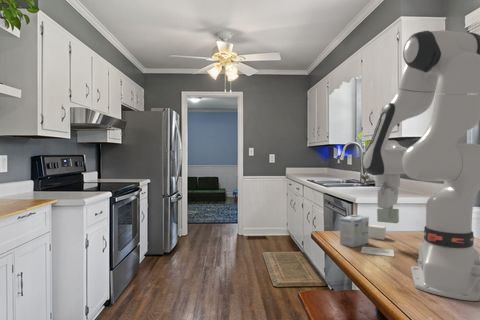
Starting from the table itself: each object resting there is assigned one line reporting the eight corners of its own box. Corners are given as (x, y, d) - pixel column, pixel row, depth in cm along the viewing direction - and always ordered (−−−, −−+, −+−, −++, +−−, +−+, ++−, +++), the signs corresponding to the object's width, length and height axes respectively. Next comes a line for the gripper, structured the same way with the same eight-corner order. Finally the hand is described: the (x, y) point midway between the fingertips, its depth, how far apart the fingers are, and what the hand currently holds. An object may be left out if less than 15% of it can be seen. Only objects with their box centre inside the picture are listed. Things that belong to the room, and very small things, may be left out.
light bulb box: (354, 239, 132) (354, 214, 132) (369, 243, 127) (369, 216, 127) (339, 244, 126) (339, 217, 126) (354, 248, 121) (354, 220, 120)
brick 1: (383, 239, 132) (383, 228, 132) (366, 237, 136) (366, 225, 136) (385, 237, 135) (385, 226, 135) (368, 235, 139) (368, 224, 139)
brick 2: (397, 223, 119) (396, 210, 119) (377, 221, 123) (377, 208, 123) (398, 221, 123) (398, 209, 123) (379, 220, 127) (379, 207, 127)
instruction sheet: (394, 257, 110) (394, 256, 110) (360, 252, 115) (360, 252, 115) (394, 250, 117) (394, 249, 117) (362, 246, 122) (362, 246, 122)
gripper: (391, 183, 113) (391, 221, 113) (400, 181, 130) (401, 215, 129) (372, 182, 117) (373, 220, 116) (384, 181, 133) (384, 213, 133)
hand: (388, 217), depth 123 cm, fingers closed on brick 2, 4 cm apart
